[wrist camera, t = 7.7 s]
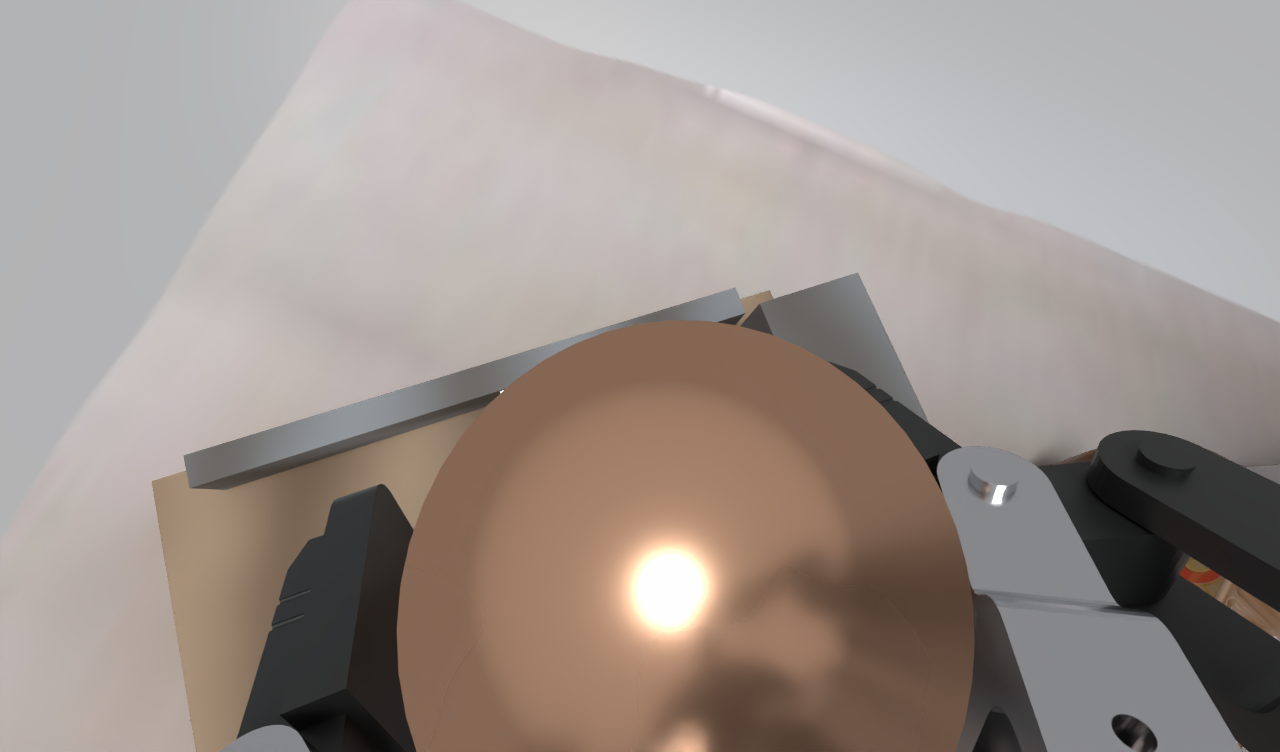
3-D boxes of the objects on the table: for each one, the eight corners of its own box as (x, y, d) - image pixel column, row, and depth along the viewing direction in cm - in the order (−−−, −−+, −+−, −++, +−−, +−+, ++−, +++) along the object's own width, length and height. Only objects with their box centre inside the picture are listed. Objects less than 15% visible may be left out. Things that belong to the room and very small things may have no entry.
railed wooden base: (753, 308, 22) (843, 205, 15) (871, 587, 20) (1051, 638, 12) (196, 483, 18) (-81, 468, 11) (264, 856, 16) (-27, 1176, 8)
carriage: (607, 394, 18) (705, -19, 4) (688, 624, 17) (1336, 1336, 2) (519, 423, 18) (249, 66, 3) (594, 663, 16) (694, 1926, 2)
